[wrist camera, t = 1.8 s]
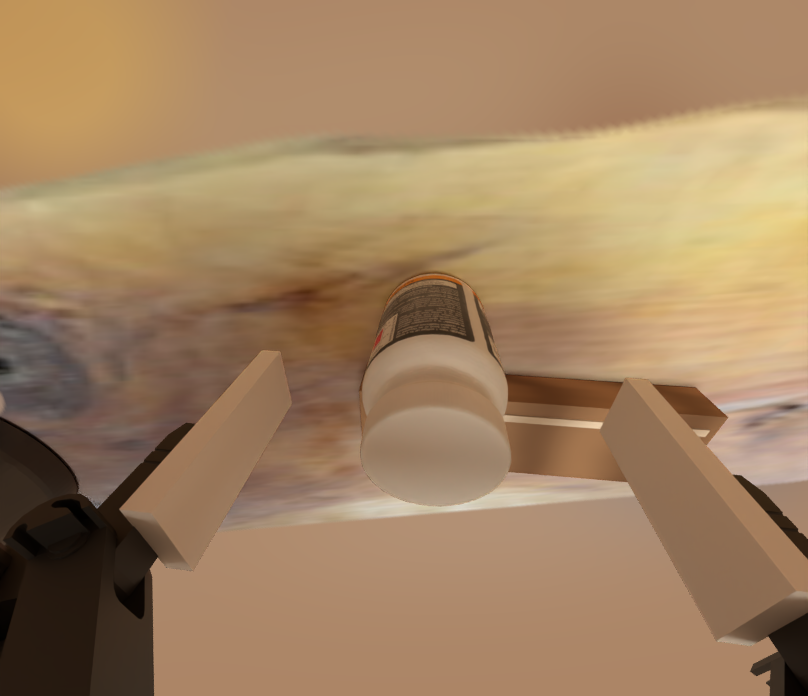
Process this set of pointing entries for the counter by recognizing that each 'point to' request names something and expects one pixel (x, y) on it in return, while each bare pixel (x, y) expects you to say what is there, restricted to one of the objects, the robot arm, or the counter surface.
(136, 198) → the counter surface
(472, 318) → the pill bottle
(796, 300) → the counter surface
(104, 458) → the counter surface
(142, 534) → the robot arm
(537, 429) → the plank
